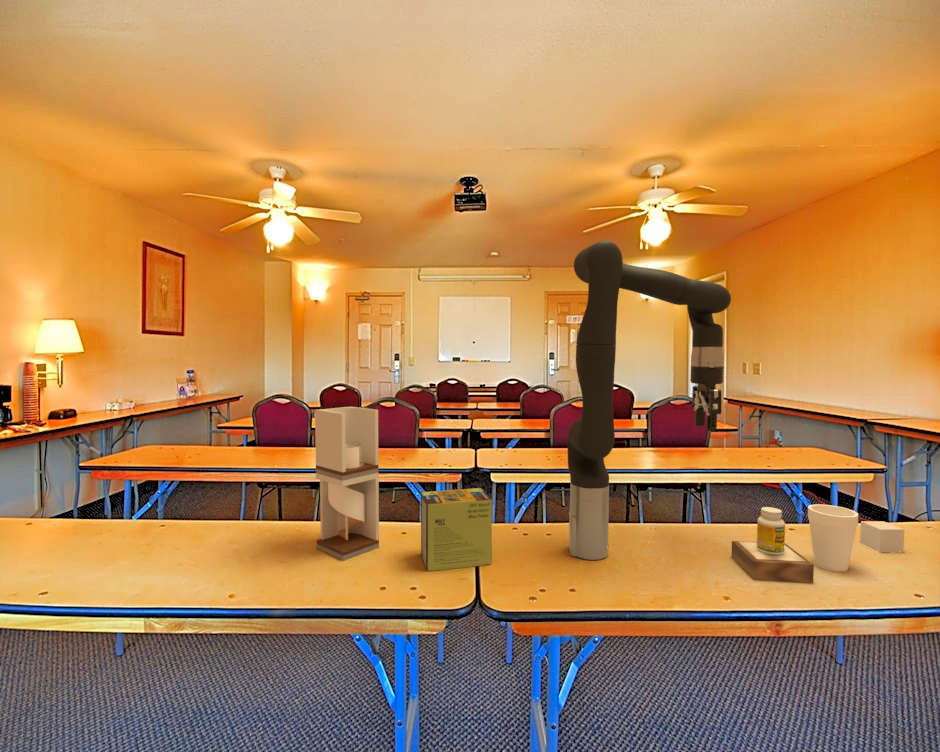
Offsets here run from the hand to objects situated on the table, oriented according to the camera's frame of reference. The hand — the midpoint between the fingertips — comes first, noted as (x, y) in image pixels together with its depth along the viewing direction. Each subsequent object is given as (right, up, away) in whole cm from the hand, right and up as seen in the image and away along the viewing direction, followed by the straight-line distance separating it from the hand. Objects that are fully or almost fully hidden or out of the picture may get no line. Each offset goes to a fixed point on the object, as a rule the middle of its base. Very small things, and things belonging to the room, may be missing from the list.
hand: (705, 428), depth 125 cm
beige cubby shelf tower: (-91, -30, -2) cm, 96 cm away
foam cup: (+23, -31, -12) cm, 41 cm away
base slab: (+8, -31, -14) cm, 35 cm away
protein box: (-64, -31, -8) cm, 71 cm away
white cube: (+44, -31, -1) cm, 54 cm away
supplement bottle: (+8, -27, -14) cm, 31 cm away
